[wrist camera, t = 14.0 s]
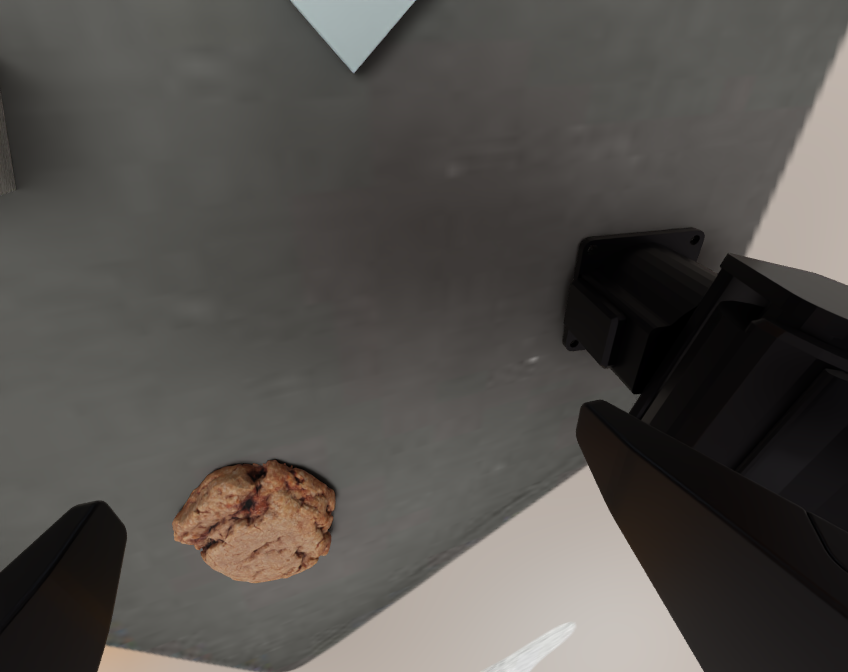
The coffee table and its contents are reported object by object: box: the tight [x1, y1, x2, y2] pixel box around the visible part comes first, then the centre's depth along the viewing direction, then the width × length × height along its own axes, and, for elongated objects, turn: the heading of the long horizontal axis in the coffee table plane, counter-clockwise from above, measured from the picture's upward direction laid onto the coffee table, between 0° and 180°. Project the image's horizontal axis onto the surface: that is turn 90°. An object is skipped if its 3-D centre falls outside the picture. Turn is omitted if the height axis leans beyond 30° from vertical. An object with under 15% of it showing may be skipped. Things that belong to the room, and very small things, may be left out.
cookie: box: [172, 460, 335, 583], centre depth 27 cm, size 10×11×3 cm
